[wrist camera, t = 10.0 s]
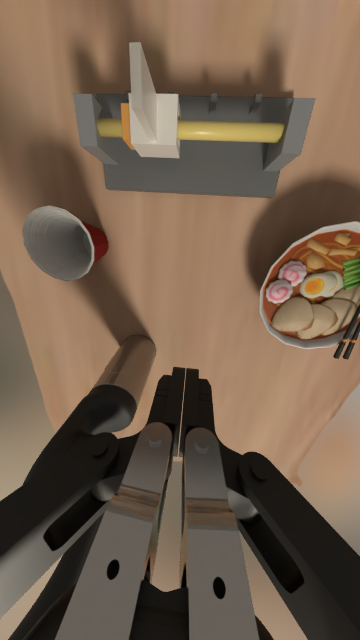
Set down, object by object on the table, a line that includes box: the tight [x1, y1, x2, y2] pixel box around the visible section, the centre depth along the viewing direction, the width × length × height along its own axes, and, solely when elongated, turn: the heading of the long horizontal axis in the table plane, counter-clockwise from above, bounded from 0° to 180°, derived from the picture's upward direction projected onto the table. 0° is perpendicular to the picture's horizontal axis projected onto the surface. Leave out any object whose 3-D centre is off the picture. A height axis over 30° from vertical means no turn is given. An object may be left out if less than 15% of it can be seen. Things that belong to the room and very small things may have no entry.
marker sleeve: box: [129, 42, 181, 158], centre depth 22 cm, size 6×5×12 cm
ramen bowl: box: [259, 221, 360, 359], centre depth 35 cm, size 25×23×8 cm
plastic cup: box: [22, 205, 108, 281], centre depth 33 cm, size 11×11×12 cm
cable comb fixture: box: [73, 91, 315, 198], centre depth 27 cm, size 30×12×9 cm, turn 87°
